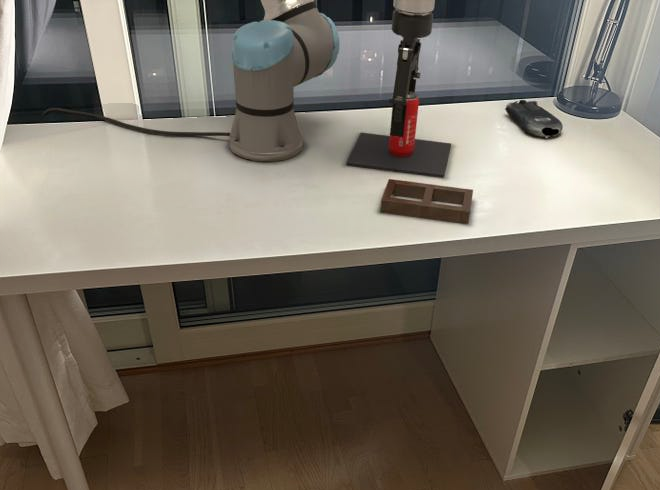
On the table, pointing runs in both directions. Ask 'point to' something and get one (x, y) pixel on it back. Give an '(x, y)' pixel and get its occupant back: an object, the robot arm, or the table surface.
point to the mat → (422, 160)
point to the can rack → (427, 201)
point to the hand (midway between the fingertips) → (401, 122)
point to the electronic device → (534, 118)
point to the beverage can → (406, 129)
